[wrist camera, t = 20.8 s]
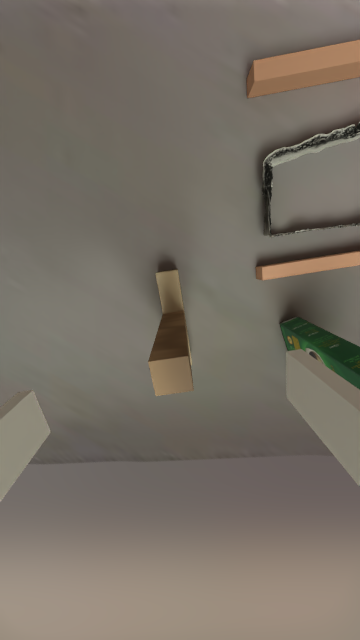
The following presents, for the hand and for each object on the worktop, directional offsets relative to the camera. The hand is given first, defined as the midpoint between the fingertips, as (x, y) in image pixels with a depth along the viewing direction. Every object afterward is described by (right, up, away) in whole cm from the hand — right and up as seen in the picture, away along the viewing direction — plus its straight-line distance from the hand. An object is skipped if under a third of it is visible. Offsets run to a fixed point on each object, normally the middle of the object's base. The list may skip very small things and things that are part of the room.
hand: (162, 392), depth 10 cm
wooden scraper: (0, +4, +17) cm, 17 cm away
